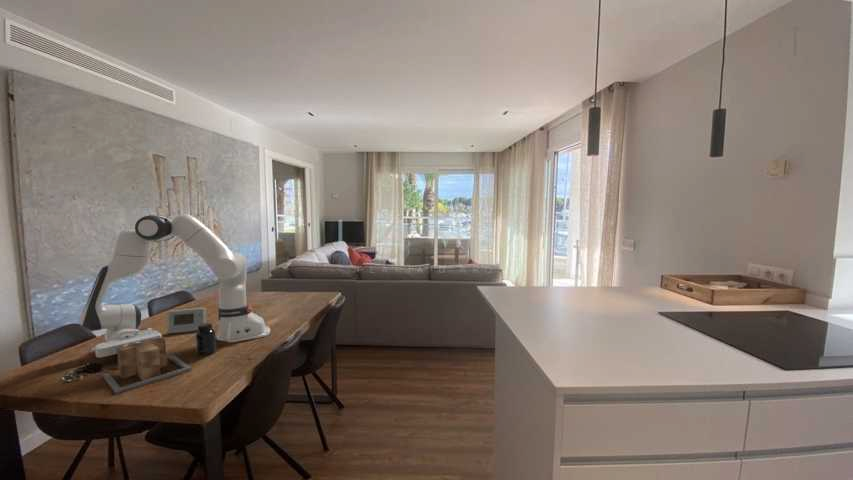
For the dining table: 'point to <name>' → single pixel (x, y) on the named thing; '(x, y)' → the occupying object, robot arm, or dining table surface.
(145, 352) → the notched wooden block
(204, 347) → the supplement bottle
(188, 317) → the digital clock
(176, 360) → the frame
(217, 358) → the dining table surface
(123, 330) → the robot arm
